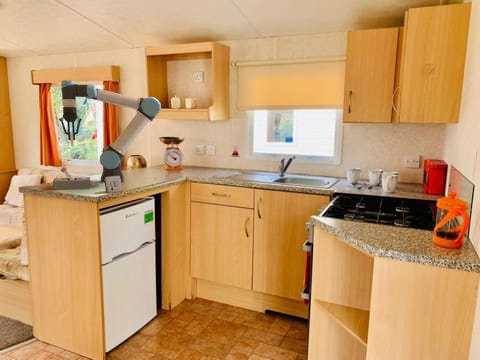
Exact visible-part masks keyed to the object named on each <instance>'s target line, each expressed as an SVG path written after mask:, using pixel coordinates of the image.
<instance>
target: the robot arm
mask: <svg viewBox="0 0 480 360" xmlns="http://www.w3.org/2000/svg"><path fill="white" fill-rule="evenodd" d="M60 85H61V87H60V89H61V100H62V106H63V107H62V113H63V114H62V116H61V117H59V119H58V120H59V122H60V124H61V127H62V129H63V132H64V134H65V135H66V136H68V137H67V138H68V141H70V146H71V147H74V146H75V145H74V143H75V142H74V141H75V140H76V135H78V134H79V132H80V131H79V130H80V125H81V122H82V120H83V119H82V118H81V117H79V116H78V110H77V98H85V99H89V100H94V101H98V102H102V103H106V104H112V105H116V106H119V107H124V108H129V109H132V110H136V112H135V113H136V114H135V115H134V117H133V118H132V119H131V121H129V123H128V124H127V126H125V128H124V129H123V131H122V132H121V133H120V135H118V137H117V138H116V140H115V141H114V142H113V143H110V144H108V146H104V147H103V148H102V150H101V152H102V153H101V154H100V156H99V162H100V165H101V166H102V173H101V175H100V182H101V183H104V179H105V177H111V176H120V179H121V183H124V182H125V177H124V174H123V172H122V160H123V159H124V158H125V157H126V151H127V150H128V149H129V147H130V146H131V145H132V143H133V142H134V141H135V140H136V138H137V137H138V136H139V134H140V133H141V132H142V131H143V129H144V128H145V127H146V126H147V124H148V123H151V122H153V120H154V119H155V117H157V115H158V114H159V113H161V110H162V104H161V102H160V101H159V100H158V99H157V98H156V97H153V96H147V97H141V96H140V97H134V96H129V95H126V94H123V93H117V92H113V91H110V90H104V89H101V88H98V87H97V85H95V84H90V83H89V84H76V82H75V81H74V80H70V79H68V80H67V79H65V80H61V84H60ZM64 120H65V122H66V123H67V124H66V125H67V129H66V127H65V123H64ZM76 121H77V125H76V128H75V122H76ZM70 123H71V125H70ZM70 126H71V127H70ZM71 129H72V134H71Z"/></svg>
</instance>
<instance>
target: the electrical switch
mask: <svg viewBox="0 0 480 360" xmlns="http://www.w3.org/2000/svg"><path fill="white" fill-rule="evenodd" d="M104 189H105V192H106V193H108V194H111V193H119V192H122V191H123V185H122V182H121V179H120V176H111V177H105V179H104Z"/></svg>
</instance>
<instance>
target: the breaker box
mask: <svg viewBox="0 0 480 360" xmlns="http://www.w3.org/2000/svg"><path fill="white" fill-rule="evenodd" d="M74 178H75V179H74V180H70V179H69V178H68V177H54V179H52V190H53V191H56V190H57V191H58V190H63V191H64V190H83V189H84V190H85V189H88V190H89V189H91V177H89V176H88V177H84V176H82V177H74Z"/></svg>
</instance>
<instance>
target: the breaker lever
mask: <svg viewBox="0 0 480 360" xmlns="http://www.w3.org/2000/svg"><path fill="white" fill-rule="evenodd" d="M60 171H61V173H64V175H65V176H66V178H69V179H70V180H74V179H75V178H76V177H74V176H72V174H71V173H70V172H69V171H68V168H67V167H66V166H63V167H61V168H60Z"/></svg>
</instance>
